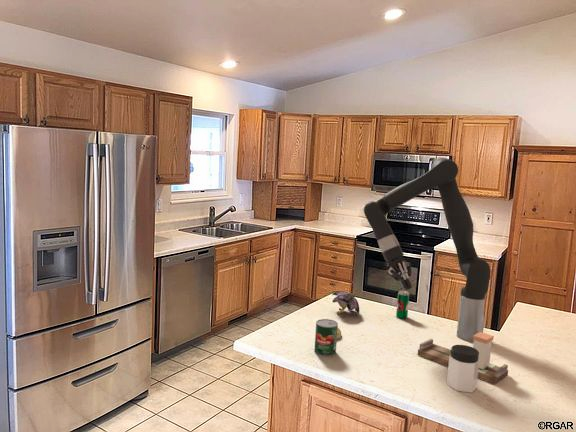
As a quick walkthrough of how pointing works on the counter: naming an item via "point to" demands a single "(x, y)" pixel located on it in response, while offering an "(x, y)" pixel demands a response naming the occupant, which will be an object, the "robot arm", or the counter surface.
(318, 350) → the canned tomato
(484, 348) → the fader knob
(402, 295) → the soda can
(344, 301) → the bird figurine
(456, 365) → the jar
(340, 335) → the bread roll
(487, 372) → the fader console
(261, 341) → the counter surface
